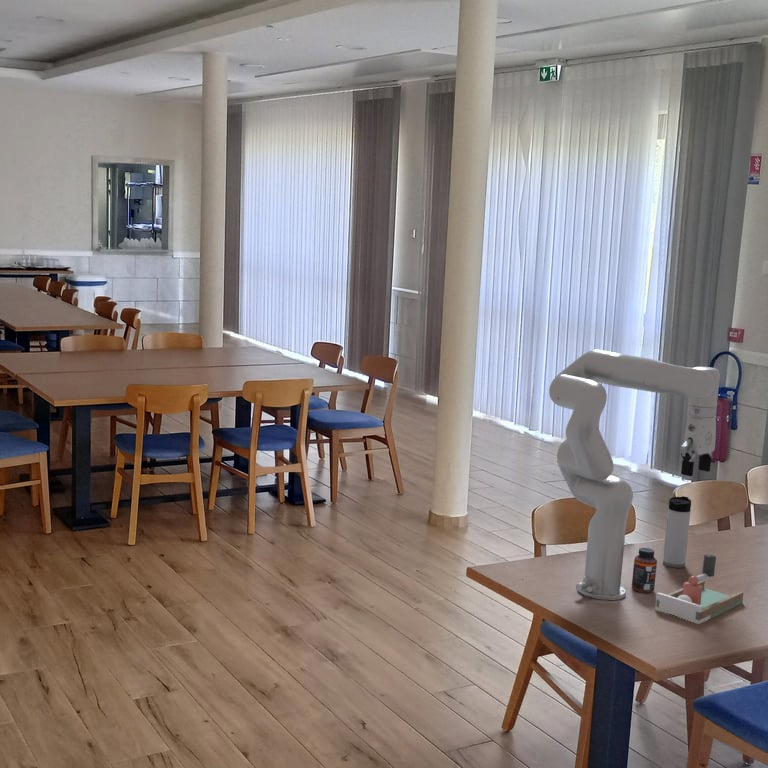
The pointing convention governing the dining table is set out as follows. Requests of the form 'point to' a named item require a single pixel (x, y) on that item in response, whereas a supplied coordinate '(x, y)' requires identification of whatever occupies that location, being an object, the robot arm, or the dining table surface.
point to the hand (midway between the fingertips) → (695, 472)
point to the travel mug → (677, 532)
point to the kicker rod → (699, 579)
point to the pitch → (708, 608)
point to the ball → (685, 598)
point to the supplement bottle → (644, 571)
